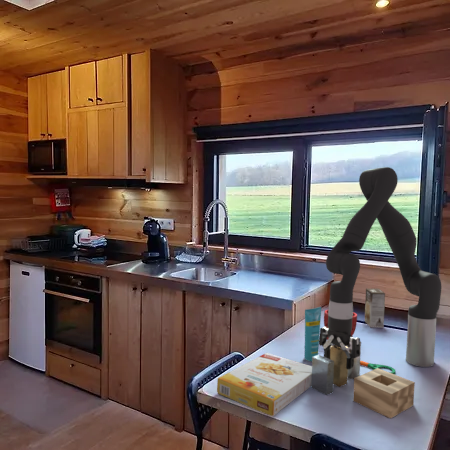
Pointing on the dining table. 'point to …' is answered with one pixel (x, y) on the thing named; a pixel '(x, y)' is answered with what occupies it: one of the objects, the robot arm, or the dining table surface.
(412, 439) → the dining table surface
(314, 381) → the brushed grey-blue block
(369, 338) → the dining table surface
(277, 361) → the cereal box
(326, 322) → the plant pot
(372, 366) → the magnifying glass
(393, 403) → the socket block
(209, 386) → the dining table surface
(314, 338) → the tube
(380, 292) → the coffee box
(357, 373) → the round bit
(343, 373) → the square bit
